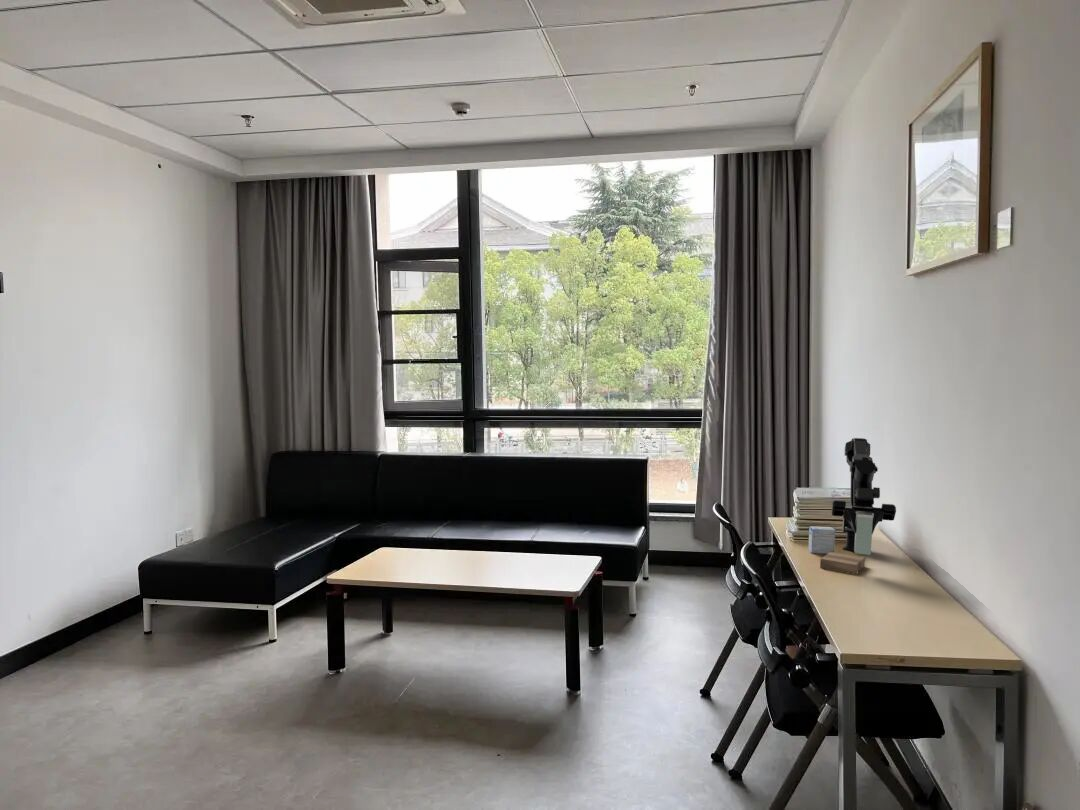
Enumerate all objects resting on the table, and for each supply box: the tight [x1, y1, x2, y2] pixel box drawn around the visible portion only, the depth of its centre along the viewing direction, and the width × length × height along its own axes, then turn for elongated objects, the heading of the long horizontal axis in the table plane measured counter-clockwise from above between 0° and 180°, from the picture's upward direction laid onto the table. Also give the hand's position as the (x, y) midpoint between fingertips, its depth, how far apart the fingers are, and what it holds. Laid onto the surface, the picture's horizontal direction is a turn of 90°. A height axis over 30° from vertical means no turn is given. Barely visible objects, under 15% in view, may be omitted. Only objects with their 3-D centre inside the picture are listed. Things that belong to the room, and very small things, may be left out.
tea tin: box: [853, 511, 873, 556], centre depth 244 cm, size 5×5×13 cm
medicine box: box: [807, 525, 836, 555], centre depth 269 cm, size 8×4×9 cm, turn 84°
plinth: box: [819, 551, 866, 575], centre depth 251 cm, size 11×11×3 cm
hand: (863, 532), depth 243 cm, fingers closed on tea tin, 4 cm apart
